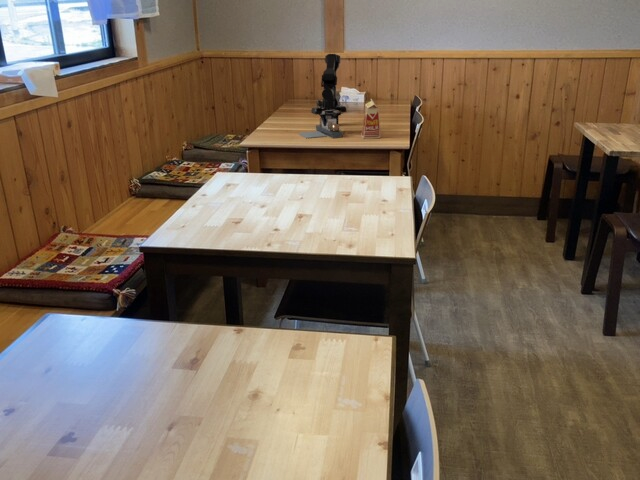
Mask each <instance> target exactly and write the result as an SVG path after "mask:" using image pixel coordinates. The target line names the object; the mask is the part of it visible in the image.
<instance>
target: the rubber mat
mask: <svg viewBox="0 0 640 480" xmlns="http://www.w3.org/2000/svg"><path fill="white" fill-rule="evenodd" d="M297 135H299V136H300V137H302V138H304V139H306V140H307V138H308V139H317V138H326V137H328V136H327V135H325V134H323V133H321V132H319V131H317V130H315V131H308V132H298V134H297Z"/></svg>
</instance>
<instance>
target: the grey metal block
mask: <svg viewBox="0 0 640 480" xmlns="http://www.w3.org/2000/svg"><path fill="white" fill-rule="evenodd" d="M332 124H336V118H333V117H331V116H330V115H326V125H325V126H324V125H323V122H322V126H323V127H325V128H327V129H331V128H332Z"/></svg>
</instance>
